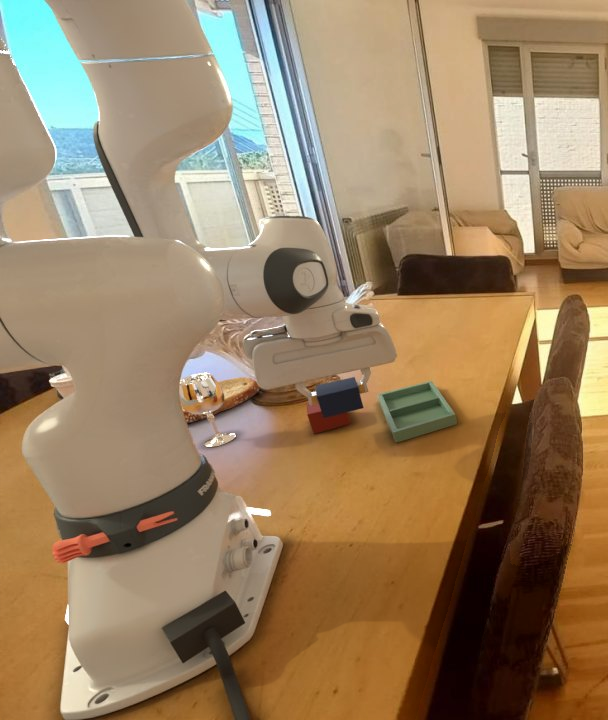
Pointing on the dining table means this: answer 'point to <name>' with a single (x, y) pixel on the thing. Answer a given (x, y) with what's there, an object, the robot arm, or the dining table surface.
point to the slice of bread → (229, 396)
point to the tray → (417, 420)
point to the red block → (325, 419)
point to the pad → (339, 397)
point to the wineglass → (204, 402)
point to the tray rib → (414, 407)
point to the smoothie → (63, 383)
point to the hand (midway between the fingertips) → (340, 397)
